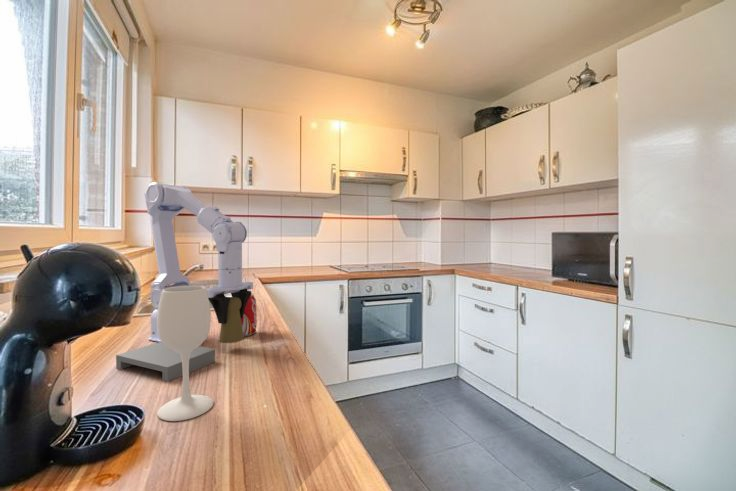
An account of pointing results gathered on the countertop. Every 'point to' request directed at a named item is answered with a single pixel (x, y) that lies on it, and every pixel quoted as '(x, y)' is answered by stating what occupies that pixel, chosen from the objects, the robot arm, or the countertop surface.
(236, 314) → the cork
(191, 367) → the gray flat panel
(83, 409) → the countertop surface
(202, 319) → the wineglass
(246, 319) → the soda can
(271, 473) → the countertop surface
